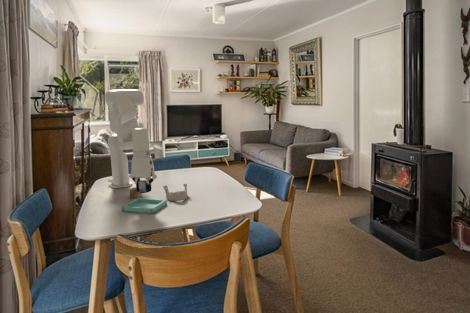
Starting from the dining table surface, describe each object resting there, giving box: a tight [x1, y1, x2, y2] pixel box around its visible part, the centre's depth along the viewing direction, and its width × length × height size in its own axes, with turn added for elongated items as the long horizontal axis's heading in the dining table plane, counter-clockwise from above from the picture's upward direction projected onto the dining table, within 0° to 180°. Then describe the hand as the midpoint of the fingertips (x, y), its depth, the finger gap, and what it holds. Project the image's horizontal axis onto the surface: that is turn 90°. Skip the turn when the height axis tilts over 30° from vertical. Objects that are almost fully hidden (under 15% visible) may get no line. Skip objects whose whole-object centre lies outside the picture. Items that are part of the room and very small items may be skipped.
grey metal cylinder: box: [138, 179, 148, 194], centre depth 157 cm, size 5×5×6 cm
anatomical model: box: [163, 183, 189, 202], centre depth 172 cm, size 13×11×10 cm
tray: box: [121, 197, 168, 215], centre depth 159 cm, size 16×14×2 cm
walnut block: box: [128, 187, 143, 200], centre depth 175 cm, size 5×5×5 cm
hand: (144, 191), depth 157 cm, fingers closed on grey metal cylinder, 4 cm apart
